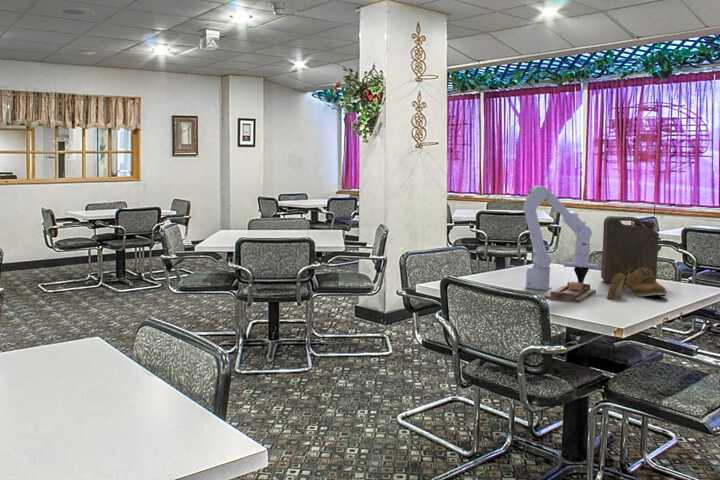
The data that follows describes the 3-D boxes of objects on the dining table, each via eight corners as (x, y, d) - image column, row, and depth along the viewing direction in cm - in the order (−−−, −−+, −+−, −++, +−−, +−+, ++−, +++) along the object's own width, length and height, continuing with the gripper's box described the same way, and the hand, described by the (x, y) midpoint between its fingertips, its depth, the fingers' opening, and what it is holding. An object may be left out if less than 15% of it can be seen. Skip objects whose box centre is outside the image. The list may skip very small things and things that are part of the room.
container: (604, 284, 298) (607, 217, 295) (599, 280, 308) (602, 215, 305) (657, 285, 295) (661, 218, 291) (650, 281, 305) (654, 216, 301)
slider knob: (568, 289, 278) (568, 283, 278) (571, 287, 281) (571, 281, 281) (580, 290, 275) (581, 284, 275) (583, 288, 279) (583, 282, 279)
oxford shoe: (616, 288, 290) (618, 262, 289) (639, 288, 291) (641, 262, 290) (646, 300, 263) (648, 272, 261) (671, 301, 263) (673, 272, 262)
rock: (615, 295, 261) (634, 289, 265) (604, 276, 264) (623, 271, 268) (600, 307, 269) (618, 301, 273) (589, 288, 273) (607, 283, 277)
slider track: (544, 298, 265) (544, 290, 264) (562, 288, 287) (562, 281, 286) (580, 302, 257) (580, 294, 257) (595, 291, 279) (596, 284, 279)
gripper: (562, 253, 284) (561, 284, 285) (597, 255, 276) (596, 287, 278) (566, 251, 290) (565, 282, 291) (601, 253, 282) (599, 285, 284)
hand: (580, 284), depth 285 cm, fingers closed
